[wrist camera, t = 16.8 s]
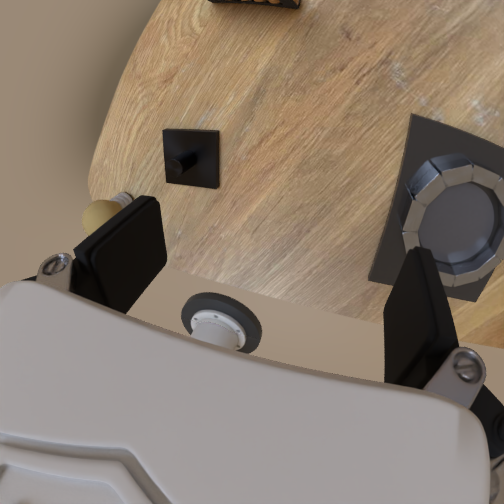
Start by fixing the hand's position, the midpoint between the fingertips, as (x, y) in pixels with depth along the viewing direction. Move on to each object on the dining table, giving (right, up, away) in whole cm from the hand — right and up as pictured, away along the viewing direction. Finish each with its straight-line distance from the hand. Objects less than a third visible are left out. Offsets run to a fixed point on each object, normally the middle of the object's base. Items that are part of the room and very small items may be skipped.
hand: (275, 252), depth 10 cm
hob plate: (+26, +4, +21) cm, 34 cm away
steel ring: (+26, +4, +20) cm, 33 cm away
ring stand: (-9, +13, +28) cm, 32 cm away
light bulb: (-22, +9, +36) cm, 43 cm away
